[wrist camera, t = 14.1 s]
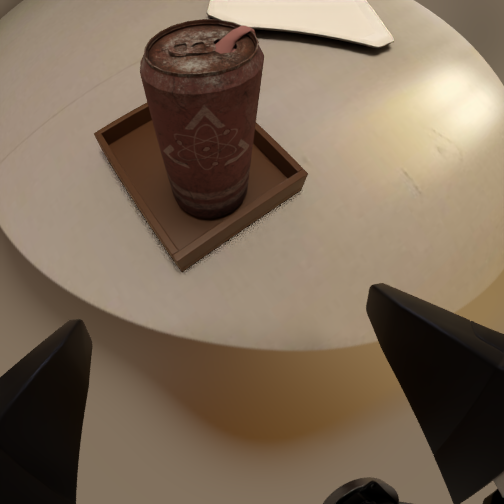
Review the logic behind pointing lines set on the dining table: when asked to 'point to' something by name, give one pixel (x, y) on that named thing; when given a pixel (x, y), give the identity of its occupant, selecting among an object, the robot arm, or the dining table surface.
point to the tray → (161, 195)
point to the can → (204, 110)
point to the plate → (308, 18)
